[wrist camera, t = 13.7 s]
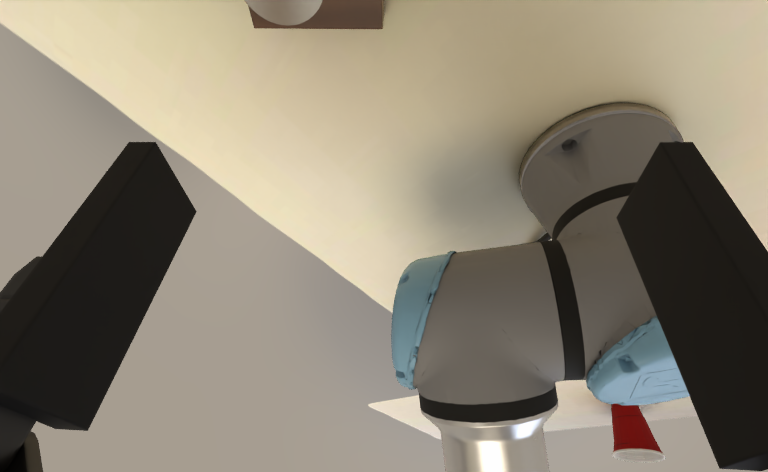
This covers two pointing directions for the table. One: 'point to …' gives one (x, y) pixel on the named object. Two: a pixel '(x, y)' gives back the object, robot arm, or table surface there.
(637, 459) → the plastic cup
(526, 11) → the table surface
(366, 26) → the dial panel
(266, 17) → the dial
